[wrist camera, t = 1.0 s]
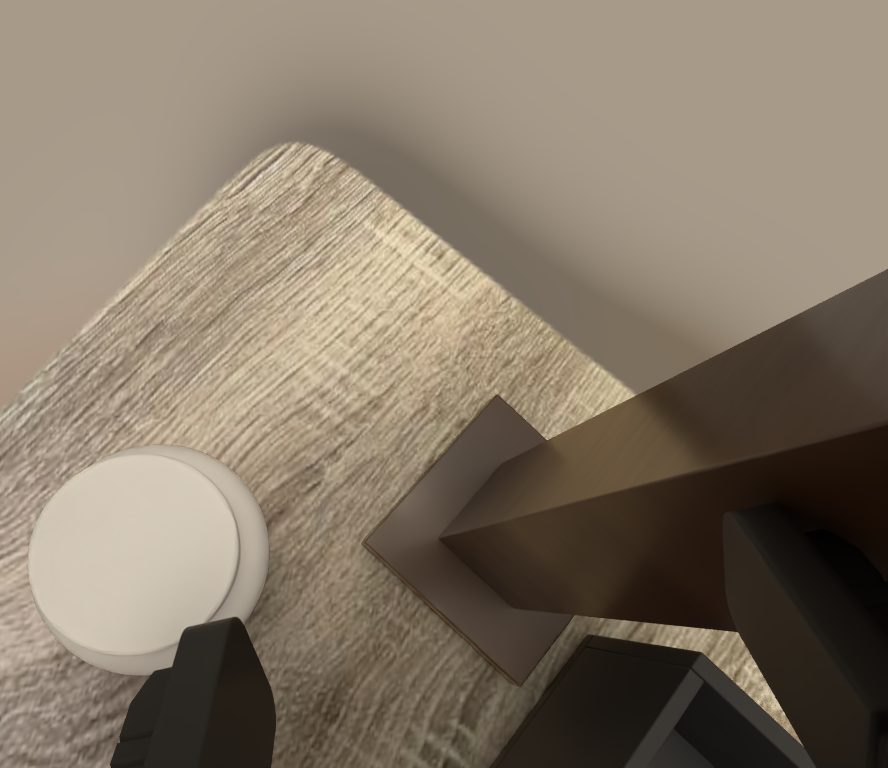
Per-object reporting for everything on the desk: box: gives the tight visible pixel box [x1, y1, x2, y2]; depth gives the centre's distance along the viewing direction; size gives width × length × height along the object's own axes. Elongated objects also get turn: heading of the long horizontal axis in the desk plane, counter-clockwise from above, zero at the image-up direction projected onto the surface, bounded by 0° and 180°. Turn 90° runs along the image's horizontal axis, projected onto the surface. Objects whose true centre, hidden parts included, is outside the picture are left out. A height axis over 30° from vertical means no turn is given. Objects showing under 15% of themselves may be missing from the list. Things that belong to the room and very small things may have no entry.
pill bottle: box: [28, 445, 270, 675], centre depth 23 cm, size 6×6×11 cm
